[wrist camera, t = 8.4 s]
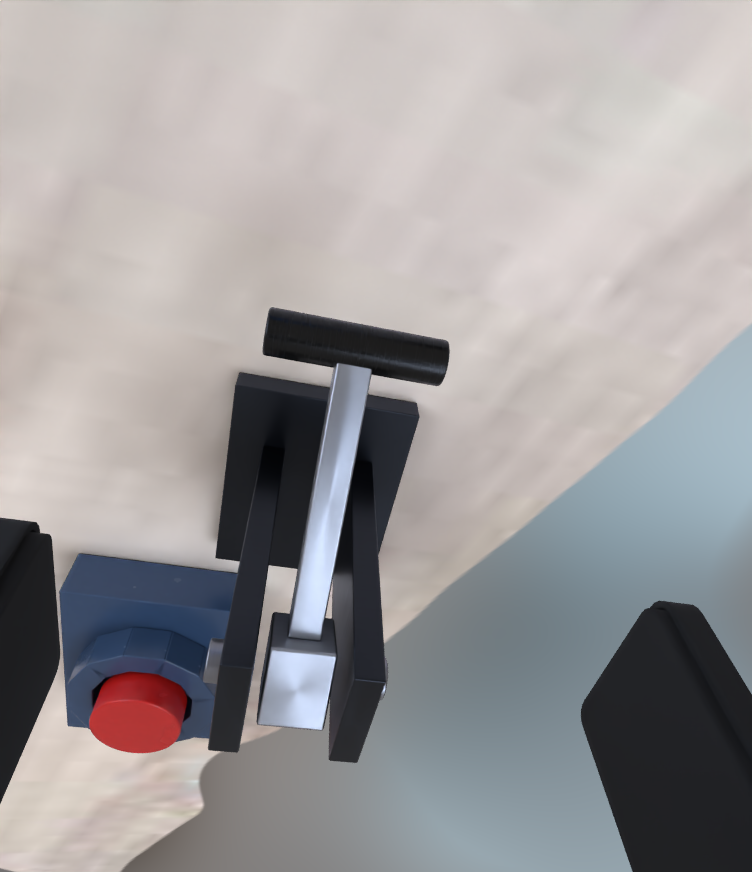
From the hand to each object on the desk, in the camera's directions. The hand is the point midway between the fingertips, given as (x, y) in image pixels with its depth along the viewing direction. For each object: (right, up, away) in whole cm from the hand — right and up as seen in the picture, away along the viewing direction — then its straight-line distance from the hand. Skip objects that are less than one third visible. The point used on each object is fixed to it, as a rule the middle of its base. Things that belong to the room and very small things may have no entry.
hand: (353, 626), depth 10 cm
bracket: (-3, +1, +21) cm, 21 cm away
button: (-12, -10, +23) cm, 28 cm away
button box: (-12, -8, +26) cm, 30 cm away
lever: (-1, 0, +11) cm, 12 cm away
